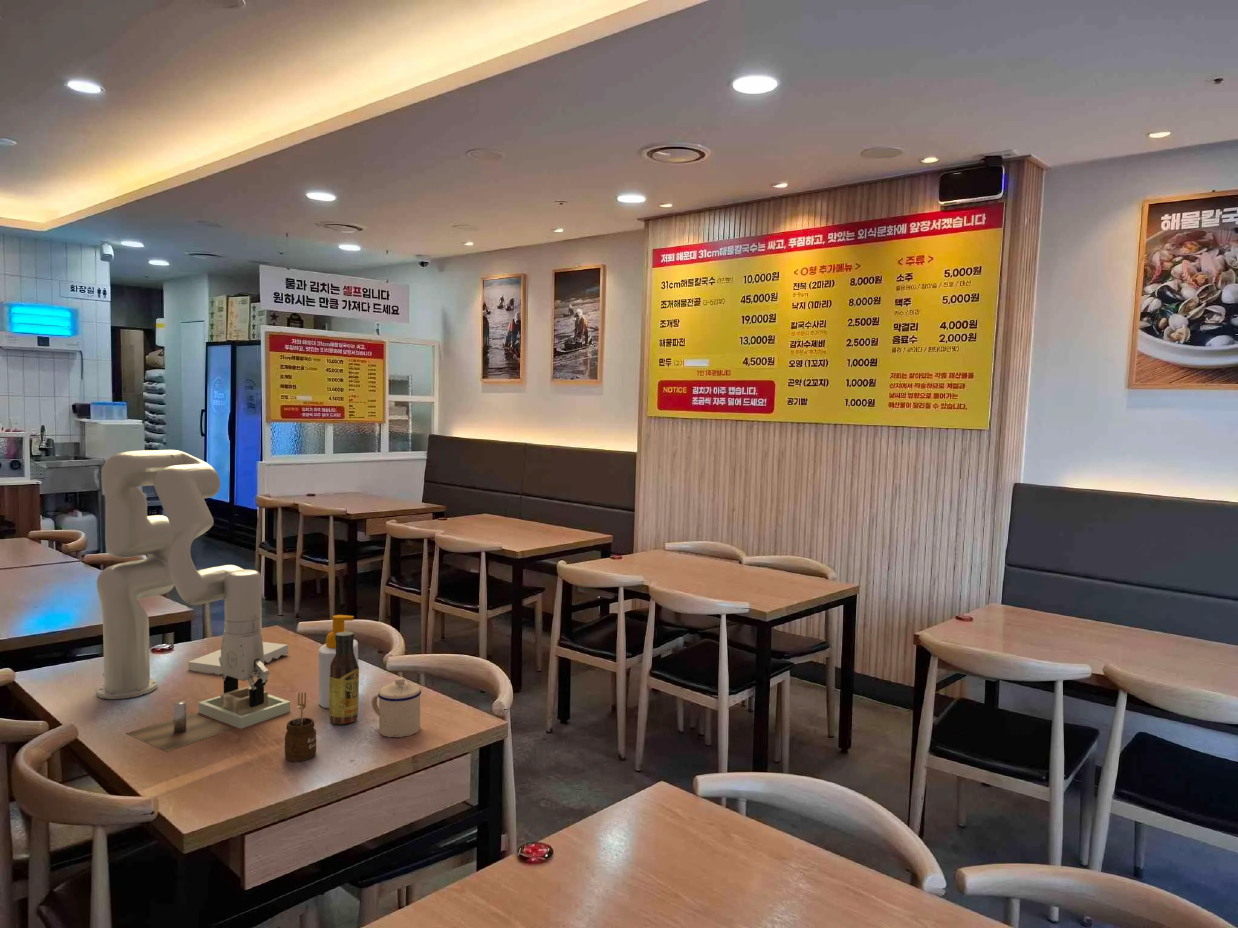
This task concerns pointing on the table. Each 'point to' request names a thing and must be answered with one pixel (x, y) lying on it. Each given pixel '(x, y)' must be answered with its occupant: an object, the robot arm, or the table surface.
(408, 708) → the teacup with lid
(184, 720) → the cylinder
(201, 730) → the stake board
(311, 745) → the utensil holder
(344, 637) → the sauce bottle
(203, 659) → the cream wavy-edged slab
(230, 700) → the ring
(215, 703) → the tray
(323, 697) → the soap bottle
